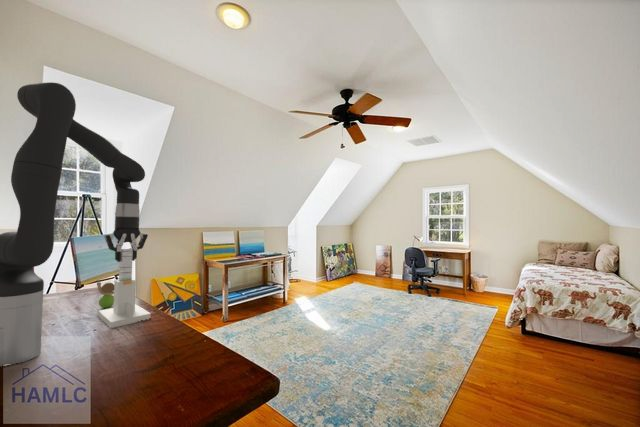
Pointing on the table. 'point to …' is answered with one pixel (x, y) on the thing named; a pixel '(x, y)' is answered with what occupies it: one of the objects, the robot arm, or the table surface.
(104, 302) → the snail figurine
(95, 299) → the table surface
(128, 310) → the grey stand
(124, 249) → the steel bar
